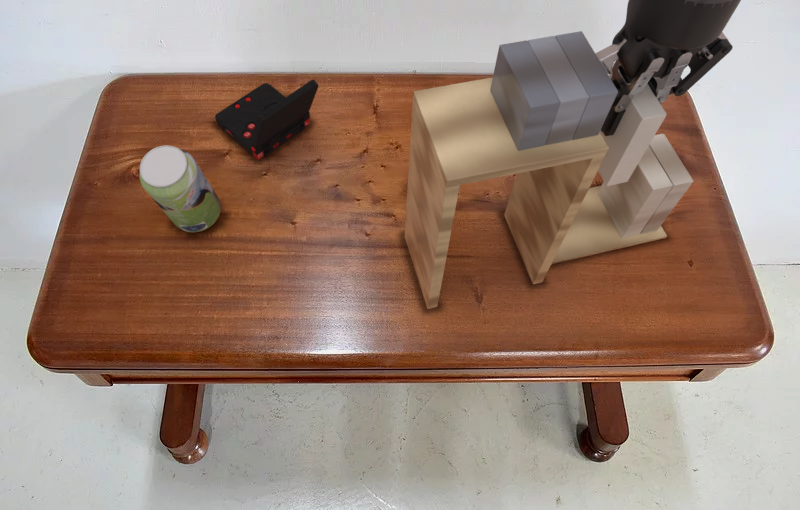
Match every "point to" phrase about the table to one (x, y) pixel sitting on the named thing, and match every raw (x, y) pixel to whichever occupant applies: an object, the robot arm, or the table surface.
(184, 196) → the beverage can
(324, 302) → the table surface
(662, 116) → the white book
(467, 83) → the wooden stand
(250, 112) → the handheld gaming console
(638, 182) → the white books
